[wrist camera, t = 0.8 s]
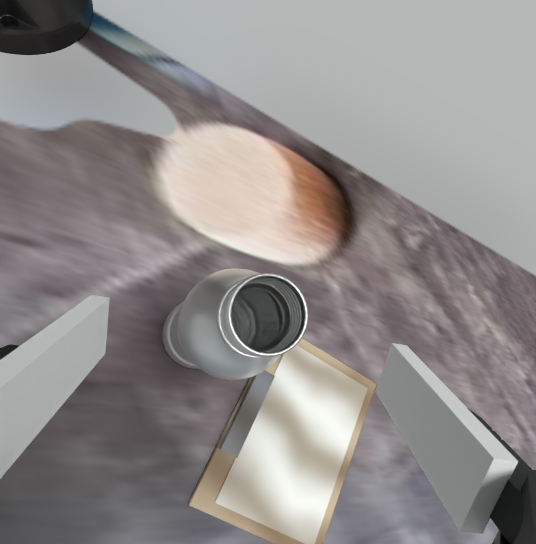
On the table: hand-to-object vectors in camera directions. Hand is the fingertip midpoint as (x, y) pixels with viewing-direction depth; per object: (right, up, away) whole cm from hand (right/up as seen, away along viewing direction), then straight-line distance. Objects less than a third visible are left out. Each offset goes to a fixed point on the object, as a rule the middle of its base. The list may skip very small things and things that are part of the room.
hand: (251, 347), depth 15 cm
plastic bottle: (-6, -3, +17) cm, 18 cm away
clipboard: (+3, -13, +18) cm, 23 cm away
